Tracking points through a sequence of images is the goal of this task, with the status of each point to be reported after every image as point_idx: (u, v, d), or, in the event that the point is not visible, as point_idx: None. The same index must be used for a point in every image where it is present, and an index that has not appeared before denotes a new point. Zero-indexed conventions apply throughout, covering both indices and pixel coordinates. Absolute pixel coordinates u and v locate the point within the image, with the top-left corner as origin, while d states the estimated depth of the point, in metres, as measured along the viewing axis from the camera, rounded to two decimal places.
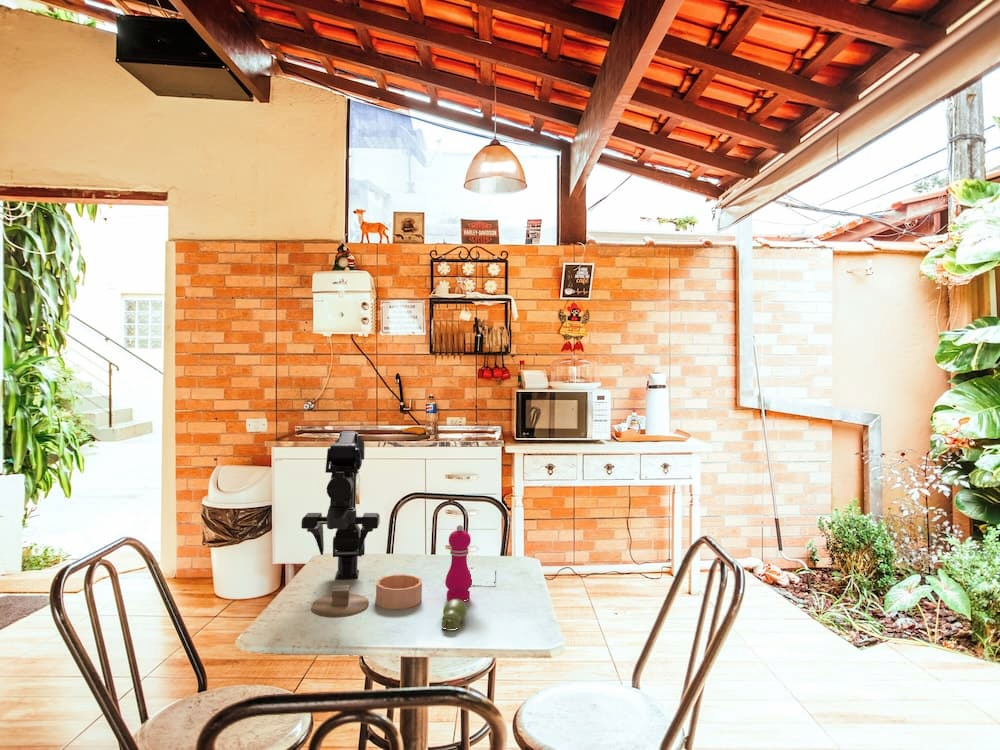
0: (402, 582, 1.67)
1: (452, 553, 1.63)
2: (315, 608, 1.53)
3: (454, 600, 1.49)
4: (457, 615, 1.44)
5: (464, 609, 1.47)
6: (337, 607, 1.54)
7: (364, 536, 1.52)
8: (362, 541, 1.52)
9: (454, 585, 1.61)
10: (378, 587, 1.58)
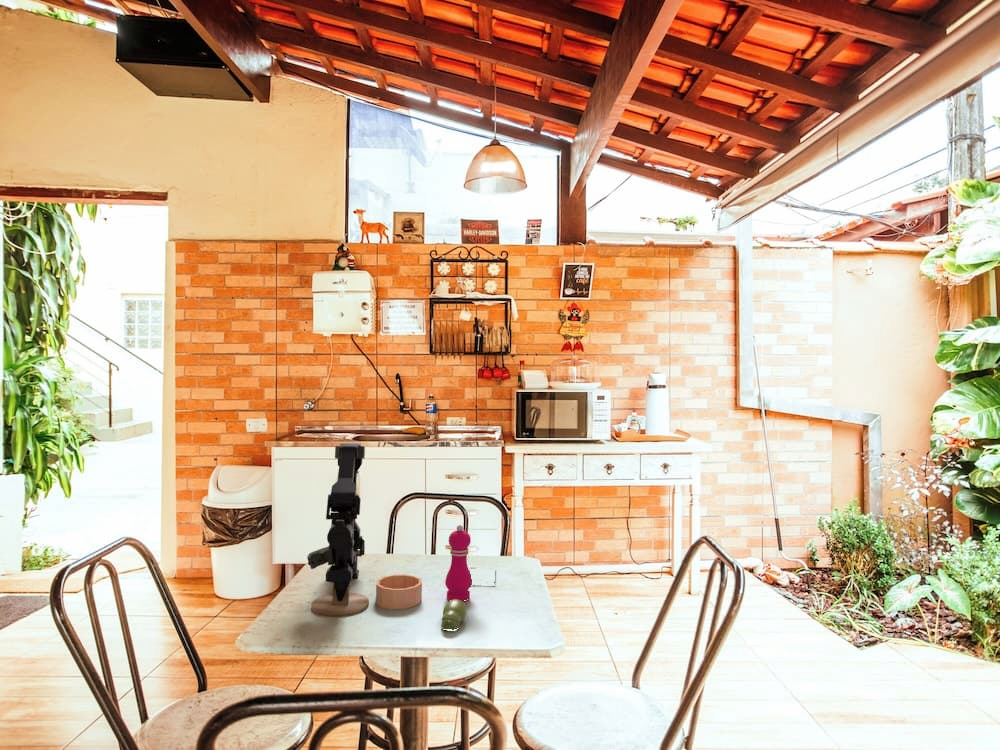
0: (402, 582, 1.67)
1: (452, 553, 1.63)
2: (315, 607, 1.53)
3: (454, 601, 1.48)
4: (456, 616, 1.44)
5: (464, 610, 1.47)
6: (338, 606, 1.54)
7: (334, 583, 1.53)
8: (335, 588, 1.54)
9: (454, 585, 1.61)
10: (378, 587, 1.58)
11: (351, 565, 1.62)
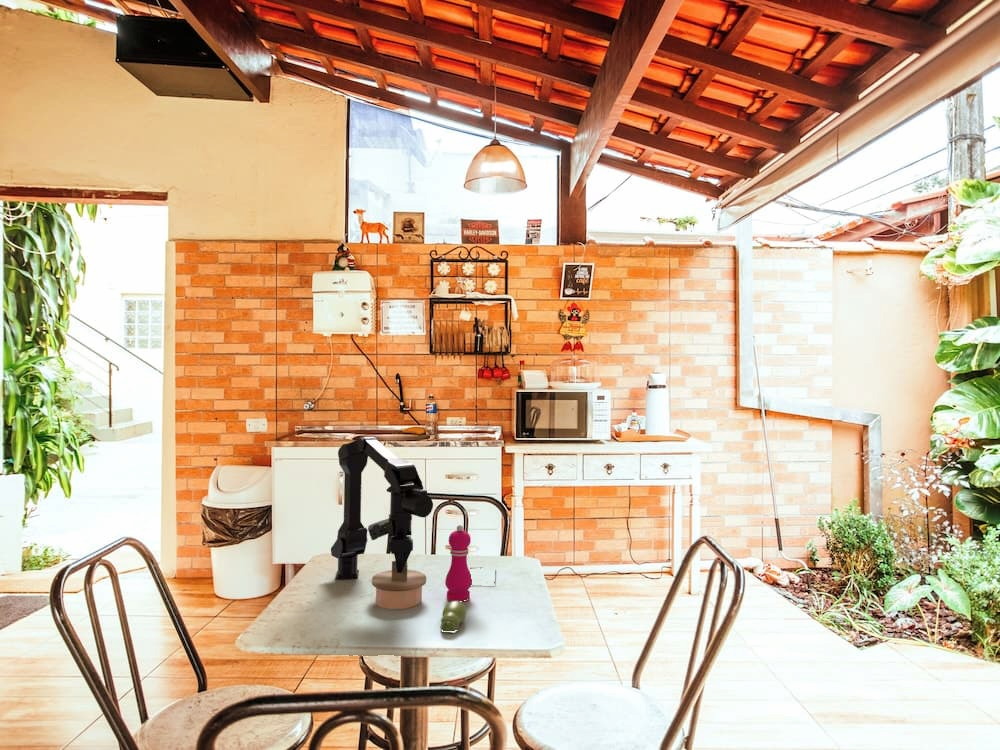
0: None
1: (452, 553, 1.63)
2: (376, 582, 1.58)
3: (453, 602, 1.48)
4: (456, 617, 1.43)
5: (463, 611, 1.46)
6: (397, 581, 1.59)
7: (394, 555, 1.57)
8: (395, 560, 1.57)
9: (454, 585, 1.61)
10: None
11: None
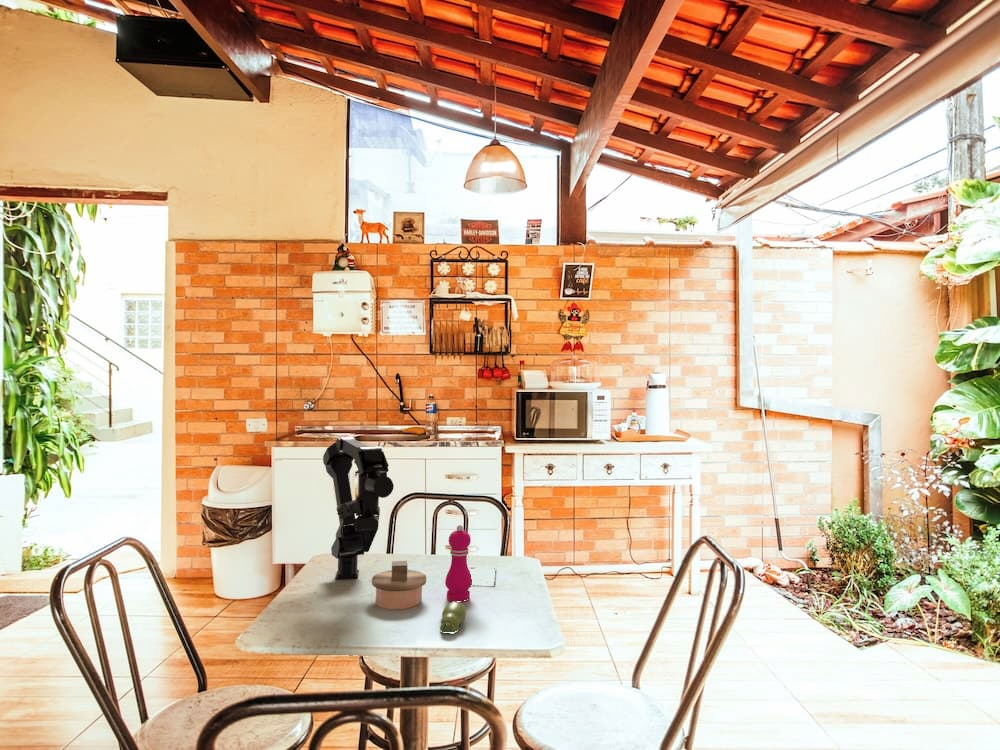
0: None
1: (452, 553, 1.63)
2: (376, 582, 1.58)
3: (453, 603, 1.47)
4: (455, 618, 1.42)
5: (463, 612, 1.45)
6: (397, 581, 1.59)
7: (361, 535, 1.63)
8: (362, 539, 1.63)
9: (454, 585, 1.61)
10: None
11: (376, 516, 1.76)
